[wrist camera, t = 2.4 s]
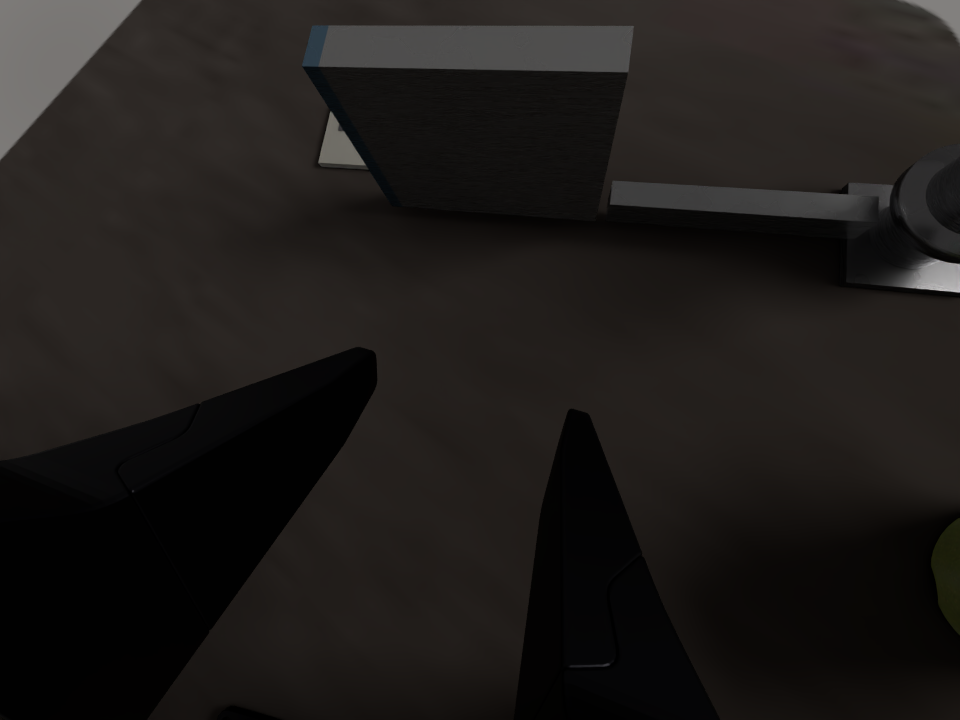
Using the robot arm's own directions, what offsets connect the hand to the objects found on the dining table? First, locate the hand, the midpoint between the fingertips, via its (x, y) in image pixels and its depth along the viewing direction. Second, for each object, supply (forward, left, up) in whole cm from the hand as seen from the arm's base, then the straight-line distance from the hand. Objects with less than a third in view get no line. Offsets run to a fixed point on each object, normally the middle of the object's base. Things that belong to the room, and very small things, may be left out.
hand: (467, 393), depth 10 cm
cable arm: (+3, +11, -12) cm, 16 cm away
